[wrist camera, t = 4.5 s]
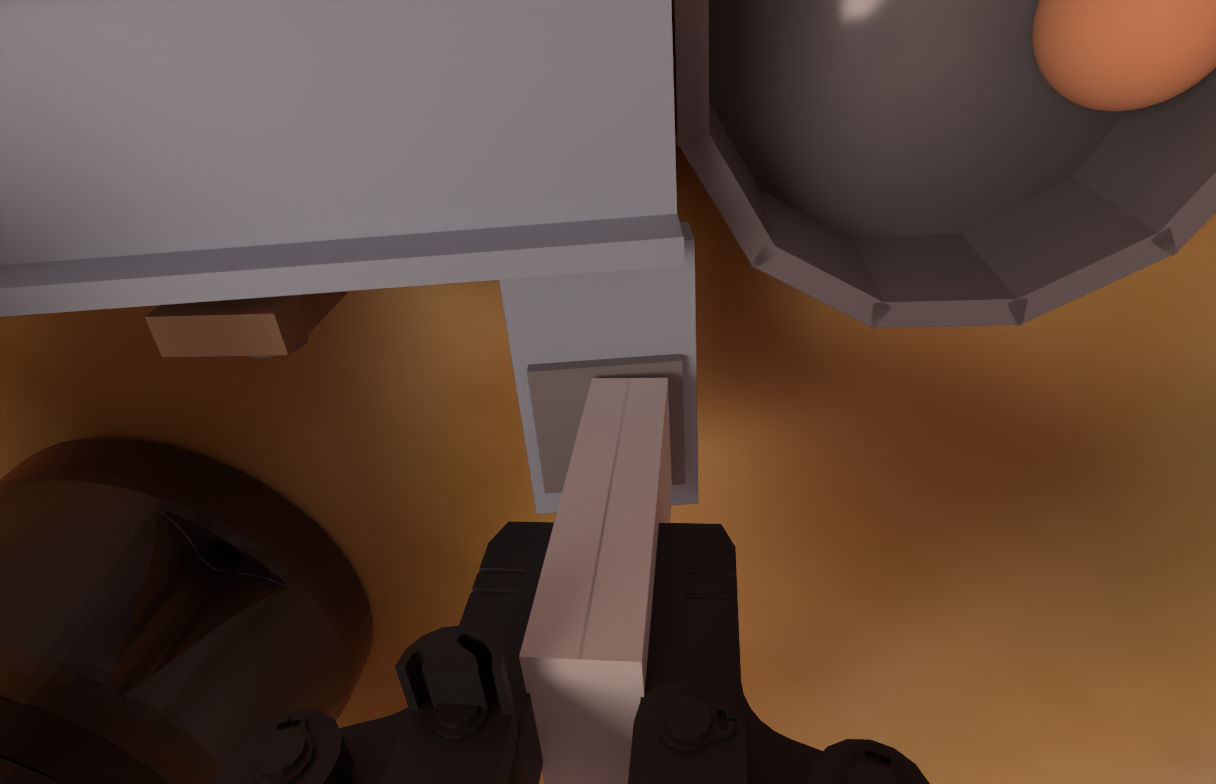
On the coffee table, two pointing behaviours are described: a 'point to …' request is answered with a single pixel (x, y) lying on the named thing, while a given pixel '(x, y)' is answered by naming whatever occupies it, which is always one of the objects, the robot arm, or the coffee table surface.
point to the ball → (1124, 49)
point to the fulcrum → (239, 325)
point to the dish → (928, 158)
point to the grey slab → (364, 175)
